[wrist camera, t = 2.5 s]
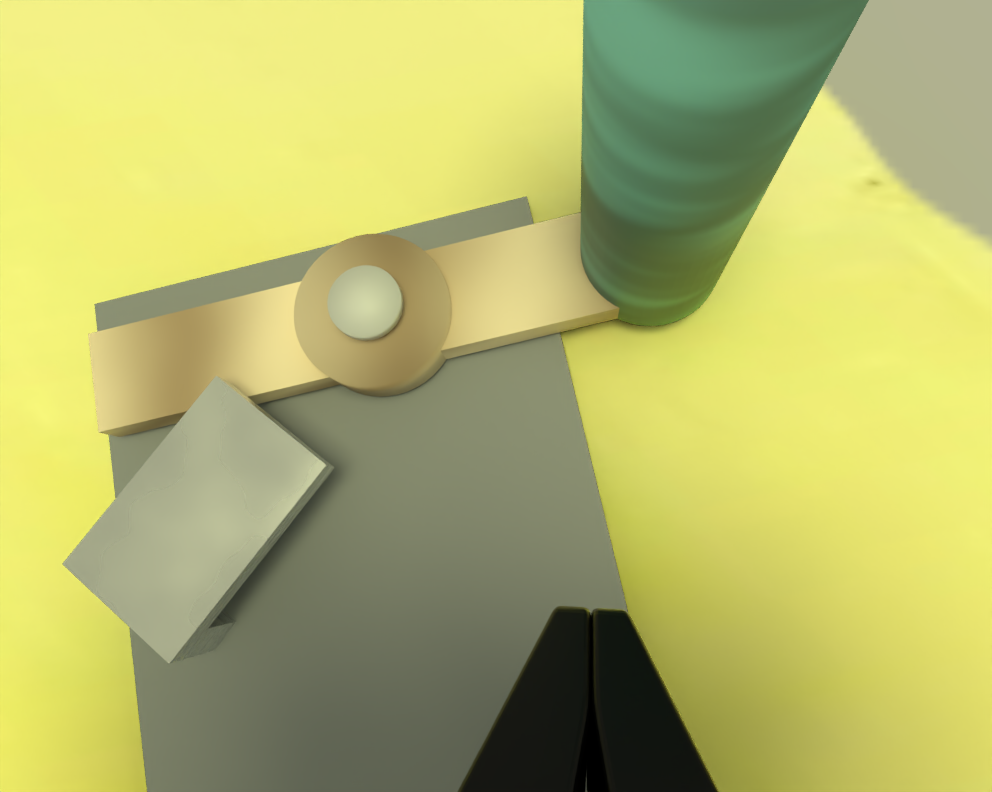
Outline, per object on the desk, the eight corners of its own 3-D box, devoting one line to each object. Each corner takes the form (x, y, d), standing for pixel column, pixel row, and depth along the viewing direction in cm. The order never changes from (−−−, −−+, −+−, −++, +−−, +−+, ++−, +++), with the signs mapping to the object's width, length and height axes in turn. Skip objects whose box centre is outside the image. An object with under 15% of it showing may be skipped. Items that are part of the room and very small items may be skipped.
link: (121, 459, 22) (-470, 351, 10) (106, 321, 23) (-453, 58, 11) (738, 314, 21) (976, -22, 9) (697, 175, 22) (857, -313, 10)
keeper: (253, 392, 23) (216, 375, 20) (352, 473, 22) (326, 464, 20) (116, 561, 22) (62, 564, 20) (213, 650, 21) (169, 663, 19)
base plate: (678, 822, 20) (696, 873, 17) (174, 922, 21) (105, 987, 18) (527, 205, 24) (520, 155, 21) (106, 309, 24) (39, 276, 21)
